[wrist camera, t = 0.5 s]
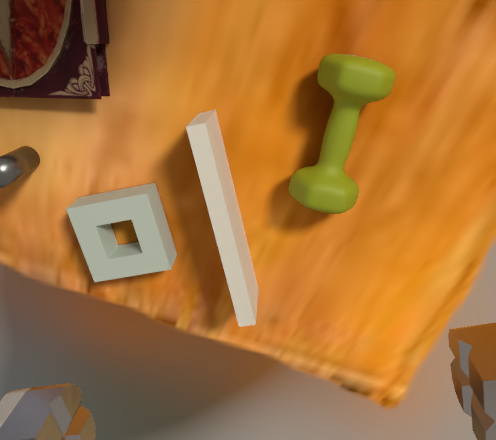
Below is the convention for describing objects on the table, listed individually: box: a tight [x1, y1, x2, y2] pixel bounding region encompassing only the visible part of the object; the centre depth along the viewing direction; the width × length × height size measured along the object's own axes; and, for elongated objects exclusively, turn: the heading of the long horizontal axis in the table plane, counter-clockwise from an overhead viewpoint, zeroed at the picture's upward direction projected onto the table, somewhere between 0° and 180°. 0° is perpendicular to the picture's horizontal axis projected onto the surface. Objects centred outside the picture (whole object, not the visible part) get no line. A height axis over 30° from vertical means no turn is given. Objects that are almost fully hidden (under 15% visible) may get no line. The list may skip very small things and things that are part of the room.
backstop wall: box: [186, 110, 258, 327], centre depth 54 cm, size 24×2×8 cm, turn 12°
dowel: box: [0, 146, 40, 188], centre depth 53 cm, size 3×3×7 cm
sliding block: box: [66, 183, 177, 282], centre depth 57 cm, size 10×10×4 cm
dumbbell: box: [288, 54, 395, 214], centre depth 50 cm, size 16×8×7 cm, turn 168°
